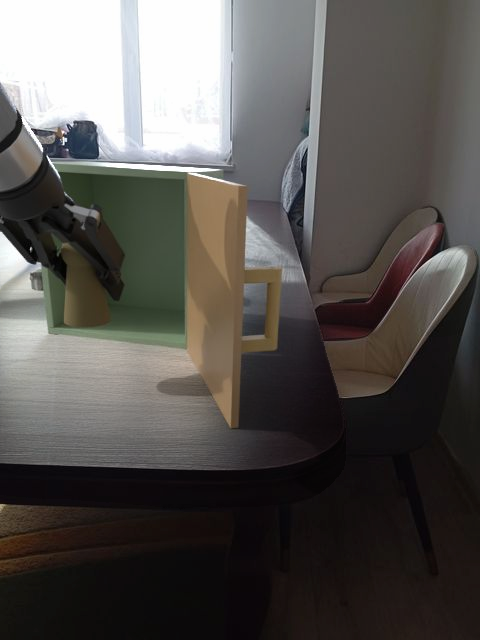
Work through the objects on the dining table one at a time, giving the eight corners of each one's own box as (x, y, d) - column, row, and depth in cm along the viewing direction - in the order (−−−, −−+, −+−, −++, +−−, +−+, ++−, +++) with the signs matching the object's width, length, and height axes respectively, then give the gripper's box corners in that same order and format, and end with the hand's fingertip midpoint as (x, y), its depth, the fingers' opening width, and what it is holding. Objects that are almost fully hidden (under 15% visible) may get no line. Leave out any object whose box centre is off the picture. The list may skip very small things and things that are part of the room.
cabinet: (191, 350, 86) (191, 171, 76) (47, 333, 90) (30, 161, 80) (220, 319, 103) (223, 169, 93) (97, 306, 107) (87, 161, 97)
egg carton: (29, 290, 116) (26, 272, 114) (33, 282, 122) (31, 265, 121) (79, 289, 118) (77, 272, 117) (80, 281, 125) (79, 265, 124)
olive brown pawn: (118, 316, 72) (114, 236, 68) (98, 329, 66) (92, 243, 62) (78, 312, 72) (72, 233, 69) (54, 324, 67) (46, 239, 63)
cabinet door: (224, 348, 87) (228, 174, 77) (279, 422, 64) (295, 187, 54) (187, 351, 85) (187, 172, 75) (230, 428, 62) (238, 185, 52)
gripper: (-89, 190, 50) (30, 307, 71) (82, 203, 48) (154, 320, 69) (-57, 134, 53) (48, 262, 74) (105, 143, 51) (168, 273, 72)
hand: (99, 290), depth 71 cm, fingers closed on olive brown pawn, 5 cm apart
